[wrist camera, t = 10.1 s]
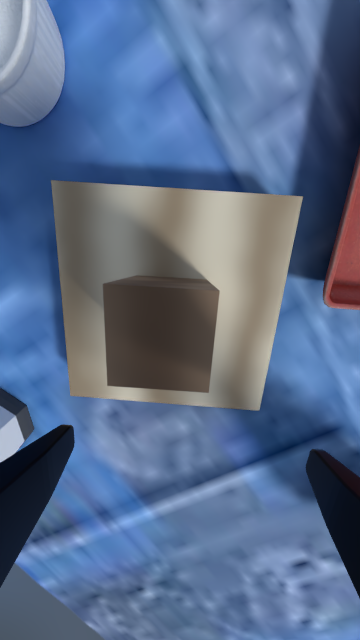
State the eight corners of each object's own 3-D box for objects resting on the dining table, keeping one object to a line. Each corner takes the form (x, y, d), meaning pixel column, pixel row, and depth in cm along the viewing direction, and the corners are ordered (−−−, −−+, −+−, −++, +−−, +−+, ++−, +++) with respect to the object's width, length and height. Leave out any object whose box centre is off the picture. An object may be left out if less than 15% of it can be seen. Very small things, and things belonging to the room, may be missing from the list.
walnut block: (206, 279, 14) (219, 290, 9) (200, 345, 16) (208, 392, 10) (136, 275, 15) (102, 283, 9) (136, 341, 16) (107, 386, 10)
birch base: (281, 208, 16) (302, 196, 13) (248, 389, 20) (259, 410, 17) (75, 195, 16) (51, 180, 13) (87, 376, 20) (70, 395, 17)
